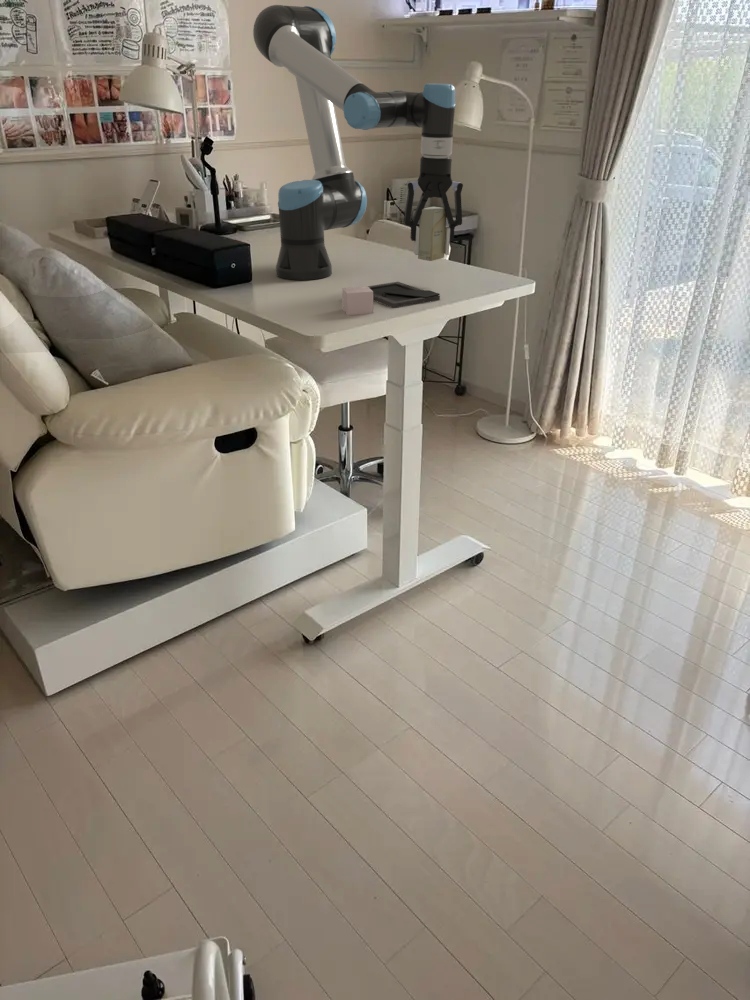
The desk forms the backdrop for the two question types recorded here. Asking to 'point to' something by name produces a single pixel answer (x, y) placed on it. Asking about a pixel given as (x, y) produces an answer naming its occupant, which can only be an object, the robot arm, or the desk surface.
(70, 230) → the desk surface
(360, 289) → the pink box
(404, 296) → the picture frame
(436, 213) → the skincare box
